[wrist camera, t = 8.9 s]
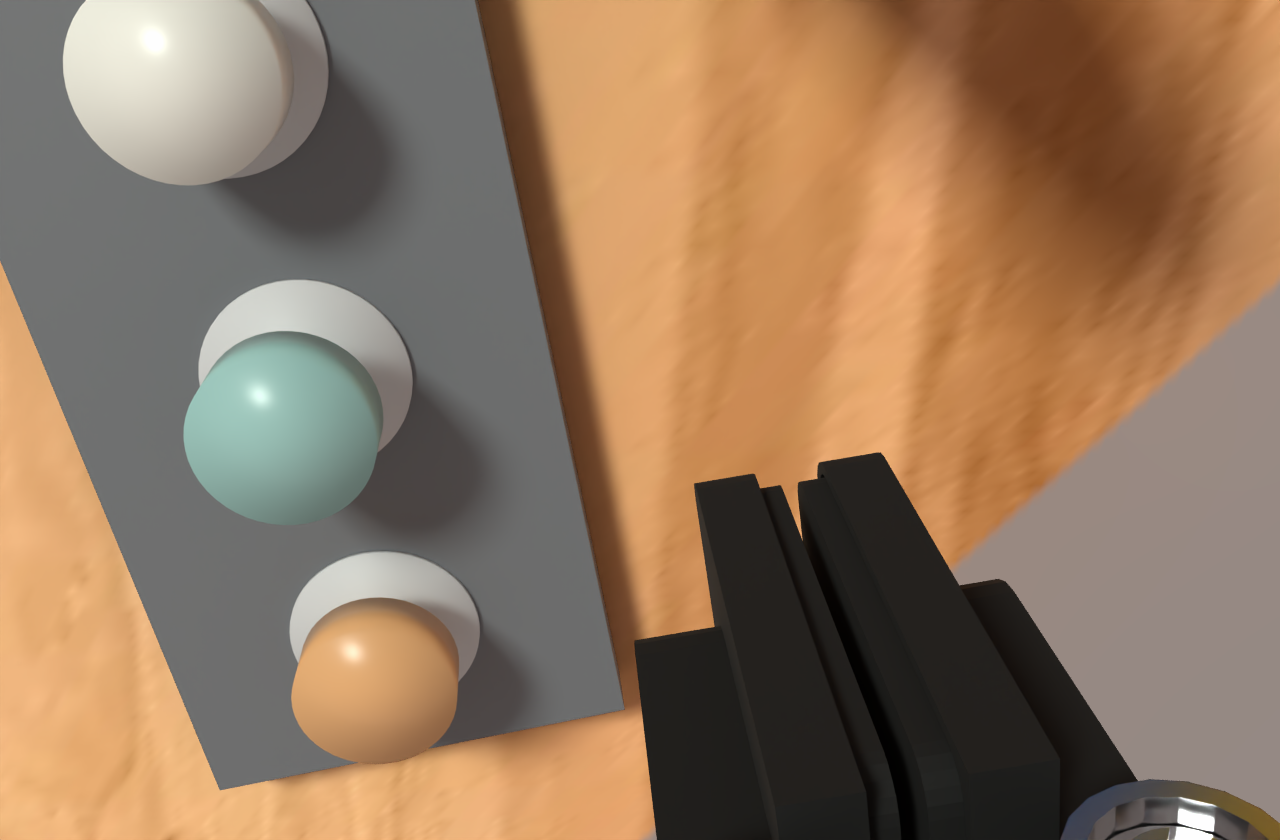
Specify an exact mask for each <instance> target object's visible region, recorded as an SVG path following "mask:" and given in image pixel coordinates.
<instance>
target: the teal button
mask: <svg viewBox="0 0 1280 840" xmlns="http://www.w3.org/2000/svg"><path fill="white" fill-rule="evenodd" d="M382 430H383V407H382V402H381V397H380V395H379V392H378V389H377V387H376V385H375V383H374V381H373V379H372V377H371V376H370V374H369V373H368V372H367V370H366V369H365V367H364V366H363V365H362V364H361V363H360V362H359V361H358V360H357V359H356V358H355V357H354V356H353V355H351V354H350V353H349V352H348V351H346V350H345V349H343V348H342V347H340V346H339V345H337V344H335V343H333V342H331V341H329V340H327V339H324V338H321V337H319V336H316V335H312V334H308V333H304V332H295V331H275V332H267V333H263V334H259V335H255V336H252V337H250V338H247V339H245V340H243V341H241V342H239V343H238V344H236V345H234V346H233V347H231V348H230V349H229V350H227V351H226V352H225V353H224V354H223V355H222V356H221V357H220V358H219V359H218V360H217V361H216V363H215V364H214V365H213V367H212V368H211V370H210V371H209V373H208V374H207V376H206V378H205V379H204V381H203V383H202V384H201V386H200V387H199V389H198V391H197V392H196V394H195V396H194V397H193V399H192V401H191V403H190V405H189V408H188V411H187V414H186V417H185V423H184V446H185V452H186V455H187V458H188V462H189V464H190V466H191V468H192V470H193V472H194V474H195V476H196V477H197V479H198V480H199V482H200V483H201V484H202V486H203V487H204V488H205V489H206V490H207V492H209V493H210V494H211V495H212V496H213V497H214V498H215V499H216V500H217V501H219V502H220V503H221V504H223V505H224V506H225V507H227V508H229V509H230V510H232V511H234V512H235V513H238V514H240V515H242V516H244V517H247V518H249V519H253V520H256V521H259V522H264V523H269V524H276V525H299V524H306V523H311V522H315V521H319V520H321V519H324V518H327V517H329V516H331V515H333V514H335V513H337V512H339V511H340V510H342V509H343V508H345V507H346V506H347V505H349V504H350V503H351V502H352V501H353V500H354V499H355V498H356V497H357V496H358V495H359V494H360V492H361V491H362V490H363V489H364V487H365V486H366V484H367V482H368V480H369V479H370V476H371V474H372V471H373V469H374V465H375V460H376V456H377V452H378V447H379V443H380V439H381V434H382Z"/></svg>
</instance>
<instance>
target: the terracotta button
mask: <svg viewBox="0 0 1280 840" xmlns="http://www.w3.org/2000/svg"><path fill="white" fill-rule="evenodd" d="M458 678H459V654H458V649H457V646H456V643H455V640H454V638H453V637H452V635H451V633H450V631H449V630H448V629H447V627H446V626H445V625H444V624H443V623H442V622H441V621H440V620H439V619H438V618H437V617H436V616H434V615H433V614H432V613H430V612H429V611H427V610H425V609H424V608H422V607H420V606H417V605H415V604H413V603H410V602H407V601H403V600H399V599H394V598H383V597H377V598H365V599H359V600H355V601H351V602H348V603H346V604H343V605H341V606H339V607H337V608H335V609H333V610H331V611H330V612H328V613H327V614H326V615H324V616H323V617H322V618H321V619H320V620H319V621H318V622H317V623H316V624H315V625H314V626H313V628H312V629H311V630H310V632H309V634H308V635H307V637H306V640H305V642H304V645H303V648H302V652H301V656H300V660H299V663H298V667H297V671H296V675H295V678H294V682H293V687H292V695H291V701H292V708H293V712H294V715H295V718H296V720H297V722H298V724H299V726H300V727H301V729H302V730H303V732H304V733H305V734H306V735H307V736H308V738H309V739H310V740H312V741H313V742H314V743H315V744H316V745H317V746H319V747H320V748H322V749H323V750H325V751H327V752H329V753H330V754H332V755H334V756H337V757H340V758H342V759H345V760H349V761H353V762H358V763H366V764H385V763H392V762H397V761H401V760H405V759H408V758H411V757H413V756H416V755H418V754H420V753H422V752H424V751H425V750H427V749H428V748H430V747H431V746H432V745H434V744H435V743H436V742H437V741H438V740H439V739H440V738H441V737H442V736H443V735H444V734H445V732H446V731H447V729H448V728H449V726H450V724H451V722H452V720H453V718H454V715H455V711H456V706H457V694H458Z"/></svg>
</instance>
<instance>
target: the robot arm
mask: <svg viewBox="0 0 1280 840" xmlns="http://www.w3.org/2000/svg"><path fill="white" fill-rule="evenodd" d="M817 477H818V479H814V480H808V481H802V482H799V483H798V500H799V510H800V519H801V529H802V538H803V541H802V538H801V536H800V533H799V530H798V528H797V525H796V523H795V520H794V517H793V515H792V512H791V510H790V507H789V505H788V502H787V499H786V497H785V494H784V492H783V489H782V487H781V486H780V485H778V486H773V487H767V488H761V489H760V487H759V484H758V482H757V479H756V476H755V474H748V475H742V476H736V477H730V478H724V479H718V480H712V481H707V482H701V483H695V484H694V488H695V497H696V504H697V511H698V518H699V524H700V531H701V538H702V544H703V551H704V558H705V564H706V571H707V578H708V585H709V591H710V598H711V605H712V611H713V618H714V625H715V627H712V628H706V629H700V630H694V631H688V632H682V633H676V634H670V635H665V636H659V637H653V638H647V639H641V640H635V643H634V645H635V655H636V664H637V672H638V681H639V690H640V698H641V707H642V715H643V724H644V733H645V741H646V750H647V758H648V767H649V775H650V784H651V793H652V801H653V810H654V818H655V827H656V836H657V840H1280V823H1278V822H1277V821H1276V820H1275V819H1274V818H1272V817H1271V816H1270V815H1268V814H1267V813H1266V812H1265V811H1263V810H1262V809H1260V808H1258V807H1256V806H1254V805H1252V804H1250V803H1248V802H1246V801H1244V800H1242V799H1240V798H1238V797H1235V796H1233V795H1231V794H1229V793H1227V792H1225V791H1221V790H1217V789H1213V788H1209V787H1205V786H1202V785H1198V784H1194V783H1190V782H1185V781H1168V780H1151V779H1149V780H1144V781H1138V780H1137V779H1136V777H1135V776H1134V774H1133V773H1132V771H1131V770H1130V768H1129V767H1128V765H1127V764H1126V762H1125V761H1124V759H1123V757H1122V756H1121V754H1120V753H1119V751H1118V750H1117V748H1116V747H1115V745H1114V744H1113V743H1112V741H1111V739H1110V738H1109V736H1108V735H1107V733H1106V731H1105V730H1104V729H1103V727H1102V725H1101V724H1100V722H1099V721H1098V719H1097V718H1096V716H1095V715H1094V713H1093V712H1092V710H1091V709H1090V707H1089V706H1088V704H1087V702H1086V701H1085V700H1084V698H1083V696H1082V695H1081V694H1080V692H1079V690H1078V689H1077V687H1076V686H1075V684H1074V683H1073V681H1072V679H1071V678H1070V676H1069V675H1068V673H1067V672H1066V670H1065V669H1064V667H1063V666H1062V664H1061V663H1060V661H1059V660H1058V658H1057V657H1056V655H1055V653H1054V652H1053V650H1052V649H1051V647H1050V646H1049V644H1048V643H1047V641H1046V640H1045V638H1044V637H1043V635H1042V634H1041V632H1040V631H1039V629H1038V627H1037V626H1036V624H1035V623H1034V621H1033V620H1032V618H1031V617H1030V615H1029V614H1028V612H1027V611H1026V609H1025V608H1024V606H1023V604H1022V603H1021V601H1020V600H1019V598H1018V597H1017V595H1016V594H1015V592H1014V591H1013V590H1012V589H1011V588H1010V586H1009V585H1008V584H1007V583H1006V582H1005V581H1003V580H1000V579H995V580H989V581H983V582H978V583H972V584H966V585H960V586H959V584H958V583H957V581H956V579H955V577H954V576H953V574H952V572H951V571H950V569H949V567H948V565H947V564H946V562H945V560H944V559H943V557H942V555H941V553H940V552H939V550H938V548H937V547H936V545H935V543H934V541H933V540H932V538H931V536H930V535H929V533H928V531H927V529H926V528H925V526H924V524H923V523H922V521H921V519H920V517H919V516H918V514H917V512H916V510H915V509H914V507H913V505H912V504H911V502H910V500H909V498H908V497H907V495H906V493H905V492H904V490H903V488H902V486H901V485H900V483H899V481H898V480H897V478H896V476H895V474H894V473H893V471H892V469H891V468H890V466H889V464H888V462H887V461H886V459H885V457H884V456H883V455H882V454H881V453H872V454H866V455H860V456H854V457H848V458H843V459H837V460H831V461H825V462H819V464H818V473H817Z"/></svg>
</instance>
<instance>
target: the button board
mask: <svg viewBox="0 0 1280 840" xmlns="http://www.w3.org/2000/svg"><path fill="white" fill-rule="evenodd" d="M85 1H86V0H0V261H1V264H2V266H3V269H4V271H5V273H6V276H7V278H8V281H9V283H10V285H11V288H12V290H13V293H14V295H15V297H16V300H17V302H18V305H19V307H20V310H21V312H22V314H23V317H24V319H25V322H26V324H27V326H28V329H29V331H30V334H31V336H32V338H33V341H34V343H35V346H36V348H37V350H38V353H39V355H40V358H41V360H42V363H43V365H44V367H45V370H46V372H47V375H48V377H49V379H50V382H51V384H52V387H53V389H54V391H55V394H56V396H57V399H58V401H59V404H60V406H61V408H62V411H63V413H64V416H65V418H66V420H67V423H68V425H69V428H70V430H71V432H72V435H73V437H74V440H75V442H76V444H77V447H78V449H79V452H80V454H81V457H82V459H83V461H84V464H85V466H86V469H87V471H88V473H89V476H90V478H91V481H92V483H93V485H94V488H95V490H96V493H97V495H98V498H99V500H100V502H101V505H102V507H103V510H104V512H105V514H106V517H107V519H108V522H109V524H110V526H111V529H112V531H113V534H114V536H115V538H116V541H117V543H118V546H119V548H120V551H121V553H122V555H123V558H124V560H125V563H126V565H127V567H128V570H129V572H130V575H131V577H132V579H133V582H134V584H135V587H136V589H137V592H138V594H139V596H140V599H141V601H142V604H143V606H144V608H145V611H146V613H147V616H148V618H149V620H150V623H151V625H152V628H153V630H154V632H155V635H156V637H157V640H158V642H159V645H160V647H161V649H162V652H163V654H164V657H165V659H166V661H167V664H168V666H169V669H170V671H171V673H172V676H173V678H174V681H175V683H176V686H177V688H178V690H179V693H180V695H181V698H182V700H183V702H184V705H185V707H186V710H187V712H188V714H189V717H190V719H191V722H192V724H193V726H194V729H195V731H196V734H197V736H198V739H199V741H200V743H201V746H202V748H203V751H204V753H205V755H206V758H207V760H208V763H209V765H210V767H211V770H212V772H213V775H214V777H215V780H216V782H217V784H218V787H219V789H220V790H224V789H229V788H234V787H239V786H244V785H249V784H254V783H259V782H264V781H269V780H274V779H279V778H284V777H289V776H294V775H299V774H304V773H309V772H314V771H319V770H324V769H329V768H334V767H339V766H344V765H349V764H354V763H358V762H353V761H349V760H345V759H342V758H340V757H337V756H334V755H332V754H330V753H329V752H327V751H325V750H323V749H322V748H320V747H319V746H317V745H316V744H315V743H314V742H313V741H312V740H310V739H309V738H308V736H307V735H306V734H305V733H304V732H303V730H302V729H301V727H300V726H299V724H298V722H297V720H296V718H295V715H294V712H293V708H292V701H291V695H292V687H293V682H294V678H295V675H296V671H297V667H298V663H299V660H300V656H301V652H302V648H303V645H304V642H305V640H306V637H307V635H308V634H309V632H310V630H311V629H312V628H313V626H314V625H315V624H316V623H317V622H318V621H319V620H320V619H321V618H322V617H323V616H324V615H326V614H327V613H328V612H330V611H331V610H333V609H335V608H337V607H339V606H341V605H343V604H346V603H348V602H351V601H355V600H359V599H365V598H377V597H383V598H394V599H399V600H403V601H407V602H410V603H413V604H415V605H417V606H420V607H422V608H424V609H425V610H427V611H429V612H430V613H432V614H433V615H434V616H436V617H437V618H438V619H439V620H440V621H441V622H442V623H443V624H444V625H445V626H446V627H447V629H448V630H449V631H450V633H451V635H452V637H453V638H454V640H455V643H456V646H457V649H458V654H459V678H458V694H457V706H456V711H455V715H454V718H453V720H452V722H451V724H450V726H449V728H448V729H447V731H446V732H445V734H444V735H443V736H442V737H441V738H440V739H439V740H438V741H437V742H436V743H435V744H434V745H432V746H431V747H430V748H434V747H439V746H444V745H449V744H454V743H459V742H464V741H469V740H474V739H479V738H484V737H489V736H494V735H499V734H505V733H510V732H515V731H520V730H525V729H530V728H535V727H540V726H545V725H550V724H555V723H560V722H565V721H570V720H575V719H580V718H585V717H590V716H595V715H600V714H605V713H610V712H615V711H620V710H625V709H624V702H623V695H622V688H621V681H620V674H619V669H618V665H617V660H616V655H615V650H614V646H613V641H612V636H611V631H610V627H609V622H608V617H607V612H606V607H605V603H604V598H603V593H602V588H601V584H600V579H599V574H598V569H597V565H596V560H595V555H594V550H593V546H592V541H591V536H590V531H589V527H588V522H587V517H586V512H585V508H584V503H583V498H582V493H581V489H580V484H579V479H578V474H577V470H576V465H575V460H574V455H573V451H572V446H571V441H570V436H569V431H568V427H567V422H566V417H565V412H564V408H563V403H562V398H561V393H560V389H559V384H558V379H557V374H556V370H555V365H554V360H553V355H552V351H551V346H550V341H549V336H548V332H547V327H546V322H545V317H544V313H543V308H542V303H541V298H540V294H539V289H538V284H537V279H536V275H535V270H534V265H533V260H532V256H531V251H530V246H529V241H528V236H527V232H526V227H525V222H524V217H523V213H522V208H521V203H520V198H519V194H518V189H517V184H516V179H515V175H514V170H513V165H512V160H511V156H510V151H509V146H508V141H507V137H506V132H505V127H504V122H503V118H502V113H501V108H500V103H499V99H498V94H497V89H496V84H495V80H494V75H493V70H492V65H491V60H490V56H489V51H488V46H487V41H486V37H485V32H484V27H483V22H482V18H481V13H480V8H479V3H478V0H259V1H260V2H261V3H262V4H263V5H264V6H265V8H266V9H267V10H268V11H269V13H270V14H271V15H272V16H273V18H274V20H275V21H276V23H277V24H278V26H279V27H280V29H281V31H282V33H283V36H284V38H285V40H286V42H287V45H288V48H289V51H290V54H291V59H292V64H293V72H294V92H293V98H292V103H291V107H290V110H289V113H288V116H287V118H286V120H285V122H284V124H283V126H282V128H281V129H280V131H279V132H278V134H277V135H276V137H275V138H274V139H273V140H272V141H271V142H270V143H269V144H268V145H267V147H266V148H265V149H264V150H263V151H262V152H261V153H260V154H259V155H258V156H257V157H256V158H255V159H254V160H253V161H252V162H251V163H250V164H249V165H247V166H246V167H245V168H244V169H242V170H241V171H239V172H237V173H235V174H234V175H232V176H230V177H227V178H225V179H222V180H220V181H216V182H212V183H208V184H201V185H174V184H167V183H163V182H159V181H155V180H151V179H149V178H146V177H144V176H141V175H139V174H137V173H135V172H133V171H131V170H129V169H127V168H125V167H124V166H122V165H121V164H119V163H118V162H117V161H115V160H114V159H112V158H111V157H110V156H109V155H108V154H107V153H105V152H104V151H103V150H102V149H101V148H100V147H99V146H98V145H97V144H96V143H95V142H94V141H93V139H92V138H91V137H90V136H89V134H88V133H87V132H86V130H85V129H84V128H83V126H82V124H81V123H80V121H79V119H78V117H77V116H76V114H75V112H74V109H73V107H72V105H71V102H70V100H69V96H68V93H67V90H66V86H65V80H64V74H63V53H64V44H65V40H66V36H67V32H68V29H69V27H70V25H71V22H72V20H73V18H74V16H75V15H76V13H77V11H78V10H79V8H80V7H81V5H82V4H83V3H84V2H85ZM275 331H295V332H304V333H308V334H312V335H316V336H319V337H321V338H324V339H327V340H329V341H331V342H333V343H335V344H337V345H339V346H340V347H342V348H343V349H345V350H346V351H348V352H349V353H350V354H351V355H353V356H354V357H355V358H356V359H357V360H358V361H359V362H360V363H361V364H362V365H363V366H364V367H365V369H366V370H367V372H368V373H369V374H370V376H371V377H372V379H373V381H374V383H375V385H376V387H377V389H378V392H379V395H380V397H381V402H382V407H383V430H382V434H381V439H380V443H379V447H378V452H377V456H376V460H375V465H374V469H373V471H372V474H371V476H370V479H369V480H368V482H367V484H366V486H365V487H364V489H363V490H362V491H361V492H360V494H359V495H358V496H357V497H356V498H355V499H354V500H353V501H352V502H351V503H350V504H349V505H347V506H346V507H345V508H343V509H342V510H340V511H339V512H337V513H335V514H333V515H331V516H329V517H327V518H324V519H321V520H319V521H315V522H311V523H306V524H299V525H276V524H269V523H264V522H259V521H256V520H253V519H249V518H247V517H244V516H242V515H240V514H238V513H235V512H234V511H232V510H230V509H229V508H227V507H225V506H224V505H223V504H221V503H220V502H219V501H217V500H216V499H215V498H214V497H213V496H212V495H211V494H210V493H209V492H207V490H206V489H205V488H204V487H203V486H202V484H201V483H200V482H199V480H198V479H197V477H196V476H195V474H194V472H193V470H192V468H191V466H190V464H189V462H188V458H187V455H186V452H185V446H184V423H185V417H186V414H187V411H188V408H189V405H190V403H191V401H192V399H193V397H194V396H195V394H196V392H197V391H198V389H199V387H200V386H201V384H202V383H203V381H204V379H205V378H206V376H207V374H208V373H209V371H210V370H211V368H212V367H213V365H214V364H215V363H216V361H217V360H218V359H219V358H220V357H221V356H222V355H223V354H224V353H225V352H226V351H227V350H229V349H230V348H231V347H233V346H234V345H236V344H238V343H239V342H241V341H243V340H245V339H247V338H250V337H252V336H255V335H259V334H263V333H267V332H275ZM428 749H429V748H428Z"/></svg>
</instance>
